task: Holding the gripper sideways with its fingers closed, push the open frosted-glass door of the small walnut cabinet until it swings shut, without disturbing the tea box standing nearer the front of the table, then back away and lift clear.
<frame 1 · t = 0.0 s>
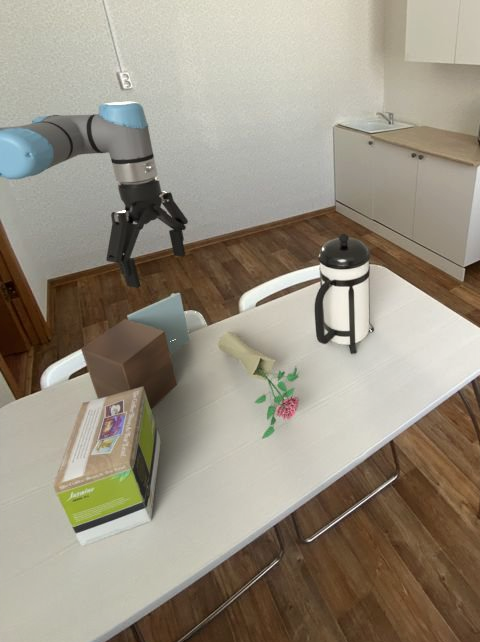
hand: (158, 269, 86), 26 cm above the table, tool pointing down, fingers open, 13 cm apart
tea box: (126, 490, 66), on the table
flower vase: (260, 389, 86), on the table
door: (159, 327, 94), point 8 cm above the table, hinge at 70.0°
coffee press: (345, 339, 101), on the table
cabinet: (139, 393, 85), on the table
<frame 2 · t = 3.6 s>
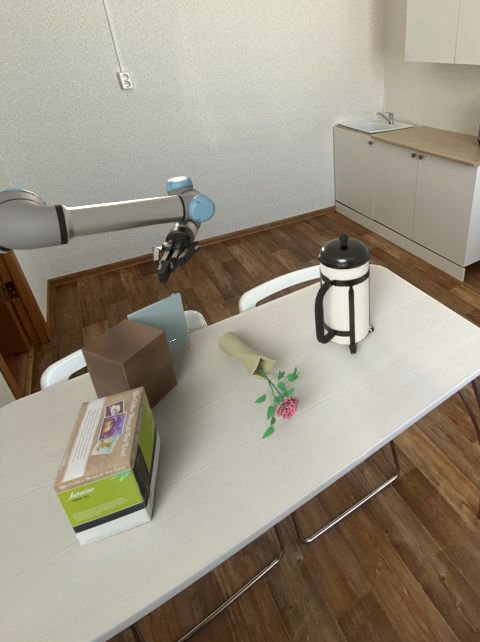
hand: (162, 278, 95), 19 cm above the table, tool horizontal, fingers closed
nothing on the table moved.
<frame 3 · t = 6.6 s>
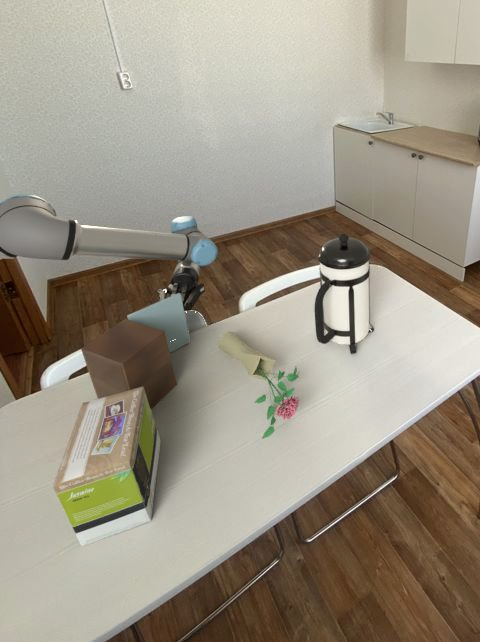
hand: (169, 325, 96), 7 cm above the table, tool horizontal, fingers closed
door: (159, 327, 94), point 8 cm above the table, hinge at 68.9°, touching gripper
everything else where it was.
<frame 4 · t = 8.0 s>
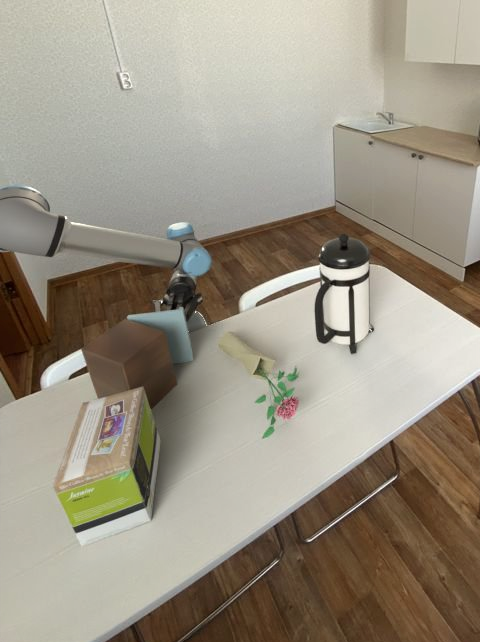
hand: (165, 339, 92), 7 cm above the table, tool horizontal, fingers closed
door: (163, 336, 92), point 8 cm above the table, hinge at 31.7°, touching gripper
everything else where it was.
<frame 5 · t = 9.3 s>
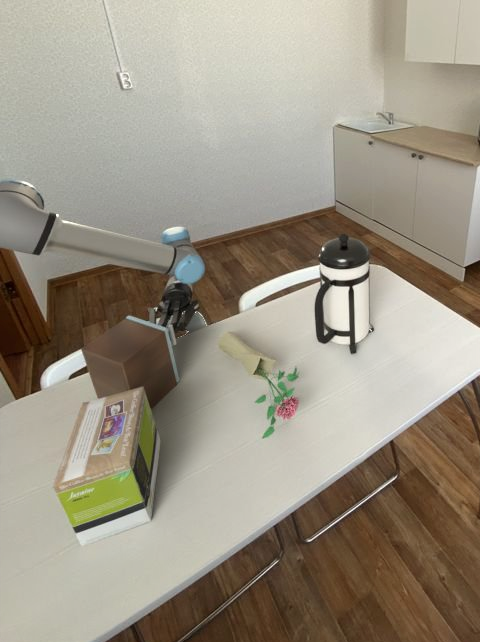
hand: (160, 349, 88), 7 cm above the table, tool horizontal, fingers closed
door: (156, 346, 88), point 8 cm above the table, hinge at -1.5°, touching cabinet, gripper
everything else where it was.
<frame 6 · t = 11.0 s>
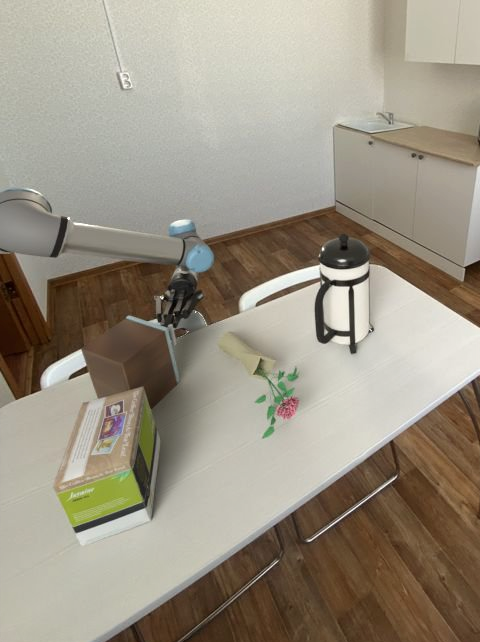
hand: (165, 335, 92), 7 cm above the table, tool horizontal, fingers closed
door: (156, 346, 88), point 8 cm above the table, hinge at -1.1°
everything else where it was.
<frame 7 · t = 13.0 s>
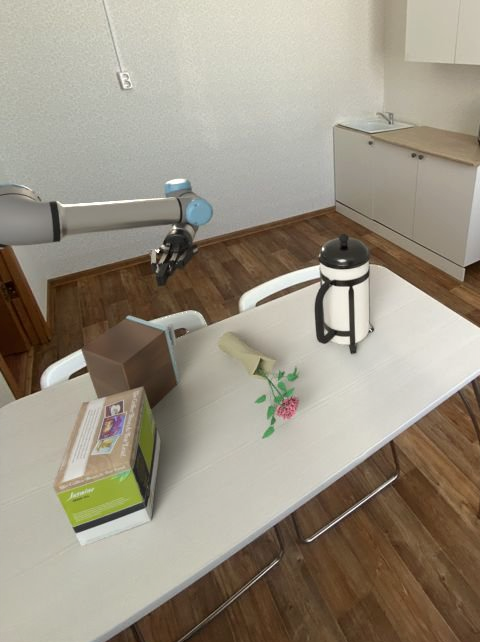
hand: (160, 281, 93), 19 cm above the table, tool horizontal, fingers closed
nothing on the table moved.
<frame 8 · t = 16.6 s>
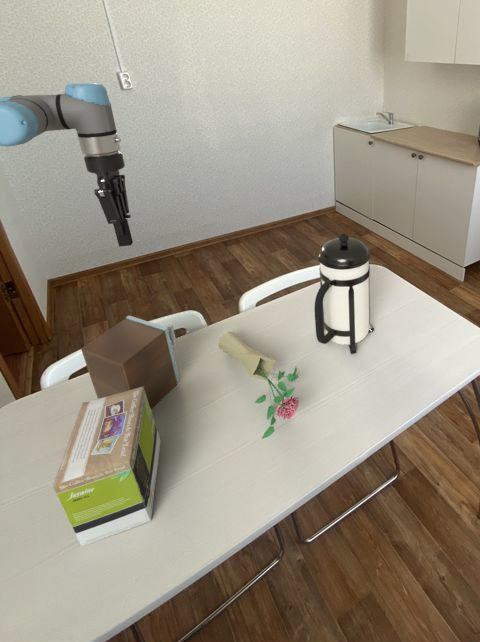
hand: (126, 244, 96), 26 cm above the table, tool pointing down, fingers closed
nothing on the table moved.
at the end: door at -1° (first picture: +70°); tea box moved 0.2 cm from its start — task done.
